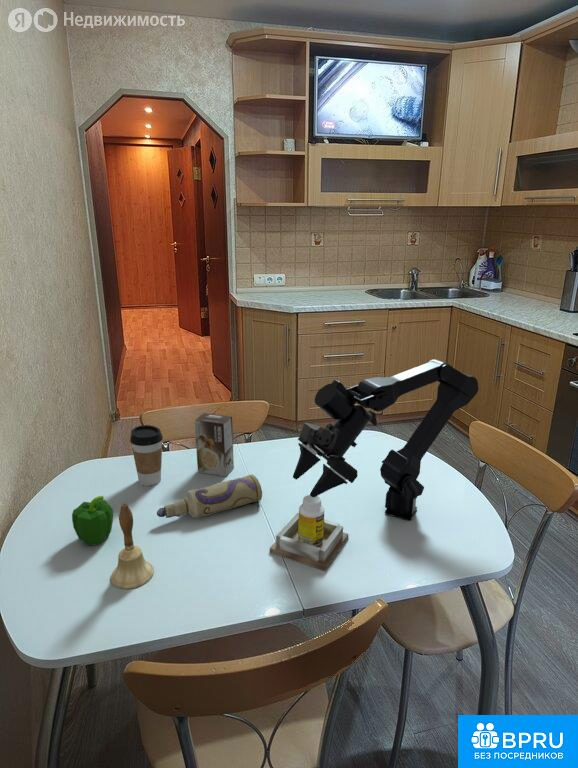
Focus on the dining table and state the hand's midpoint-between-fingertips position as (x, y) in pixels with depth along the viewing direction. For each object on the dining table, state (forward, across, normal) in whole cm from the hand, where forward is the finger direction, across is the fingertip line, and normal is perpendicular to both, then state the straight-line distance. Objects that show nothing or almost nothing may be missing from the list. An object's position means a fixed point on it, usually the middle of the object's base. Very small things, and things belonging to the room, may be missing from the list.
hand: (302, 487), depth 107 cm
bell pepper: (+38, -18, -23) cm, 48 cm away
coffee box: (+15, -40, +1) cm, 43 cm away
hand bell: (+34, -2, -18) cm, 39 cm away
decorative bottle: (+20, -21, -3) cm, 29 cm away
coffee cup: (+27, -40, -13) cm, 50 cm away
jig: (+9, +2, +10) cm, 13 cm away
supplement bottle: (+8, +2, +9) cm, 13 cm away
